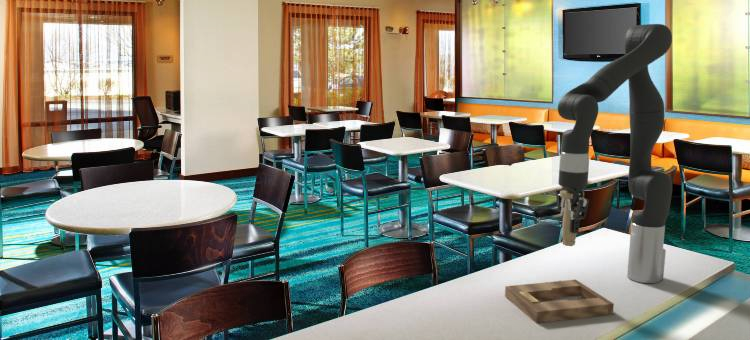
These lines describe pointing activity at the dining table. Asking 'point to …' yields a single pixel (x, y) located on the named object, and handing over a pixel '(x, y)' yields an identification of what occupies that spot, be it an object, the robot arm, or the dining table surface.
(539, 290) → the square wooden frame
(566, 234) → the handle
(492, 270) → the dining table surface
